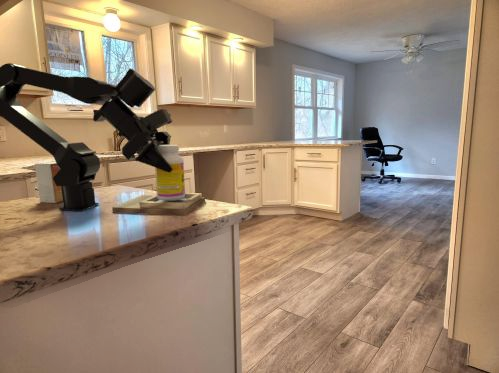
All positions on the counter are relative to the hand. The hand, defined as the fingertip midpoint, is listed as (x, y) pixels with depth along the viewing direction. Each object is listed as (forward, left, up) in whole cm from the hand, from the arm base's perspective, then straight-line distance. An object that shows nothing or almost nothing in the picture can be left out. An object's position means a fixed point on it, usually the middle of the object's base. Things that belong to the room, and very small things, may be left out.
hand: (175, 169), depth 76 cm
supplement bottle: (-1, 0, -7) cm, 8 cm away
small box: (-36, +3, -10) cm, 38 cm away
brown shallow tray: (-4, 0, -9) cm, 10 cm away
